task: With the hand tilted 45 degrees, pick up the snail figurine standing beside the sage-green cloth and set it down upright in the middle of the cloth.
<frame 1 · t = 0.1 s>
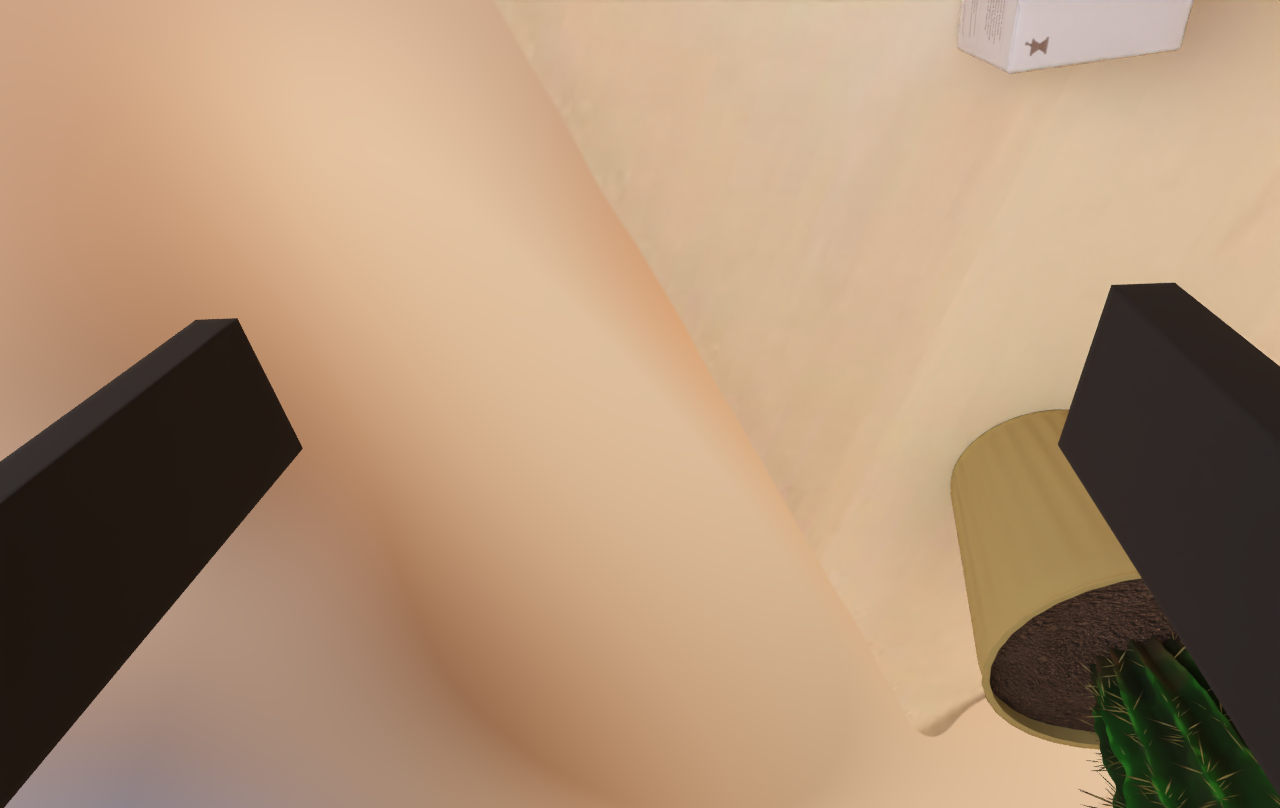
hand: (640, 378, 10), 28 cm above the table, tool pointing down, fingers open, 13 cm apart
potted cactus: (1037, 474, 45), on the table
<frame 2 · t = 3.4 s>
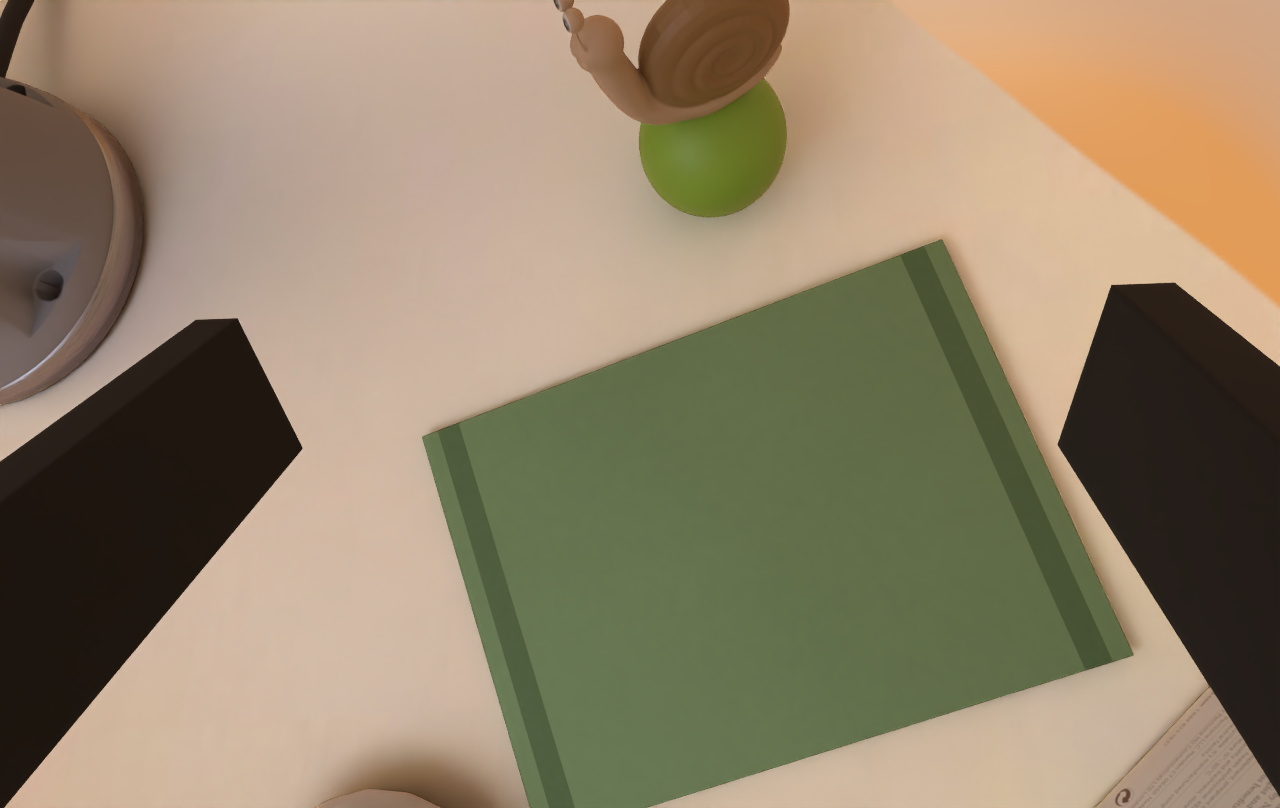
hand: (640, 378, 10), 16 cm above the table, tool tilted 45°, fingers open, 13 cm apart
snail figurine: (703, 183, 27), on the table
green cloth: (743, 534, 25), on the table
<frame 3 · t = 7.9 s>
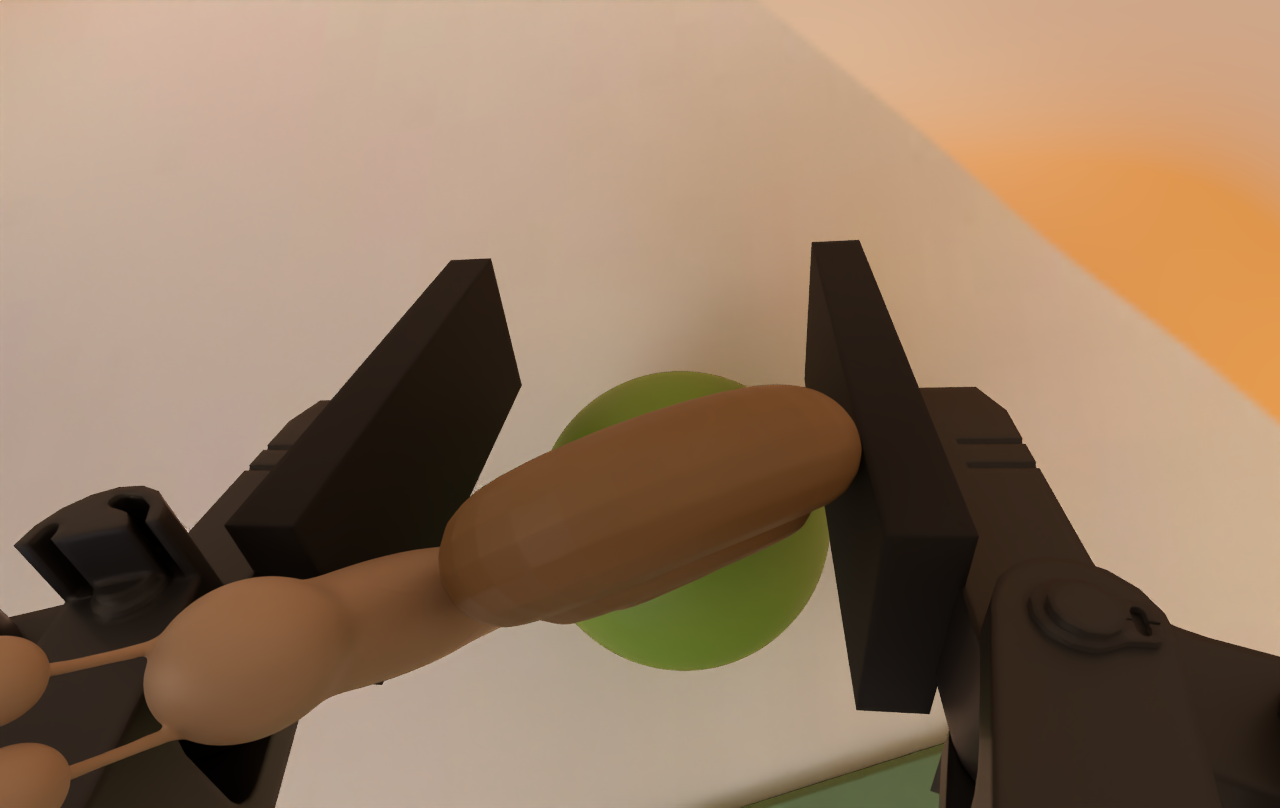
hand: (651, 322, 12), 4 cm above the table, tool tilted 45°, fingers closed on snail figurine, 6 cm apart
snail figurine: (673, 524, 15), on the table, touching gripper
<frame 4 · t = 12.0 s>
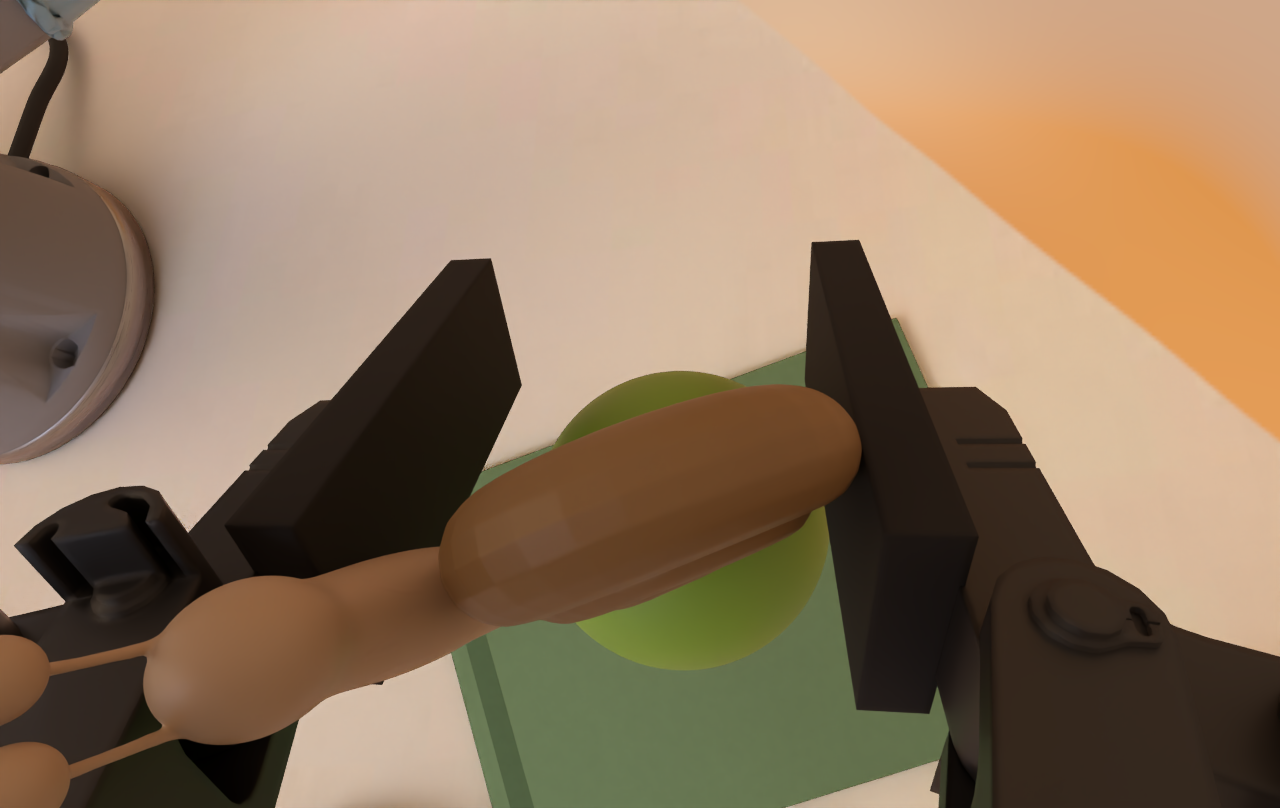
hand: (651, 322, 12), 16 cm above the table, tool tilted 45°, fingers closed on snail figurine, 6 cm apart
snail figurine: (673, 524, 15), point 12 cm above the table, touching gripper
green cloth: (711, 595, 27), on the table
when the fingers open (4 cm above the table, at t = 15.9 s): snail figurine stays where it is, resting on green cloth.
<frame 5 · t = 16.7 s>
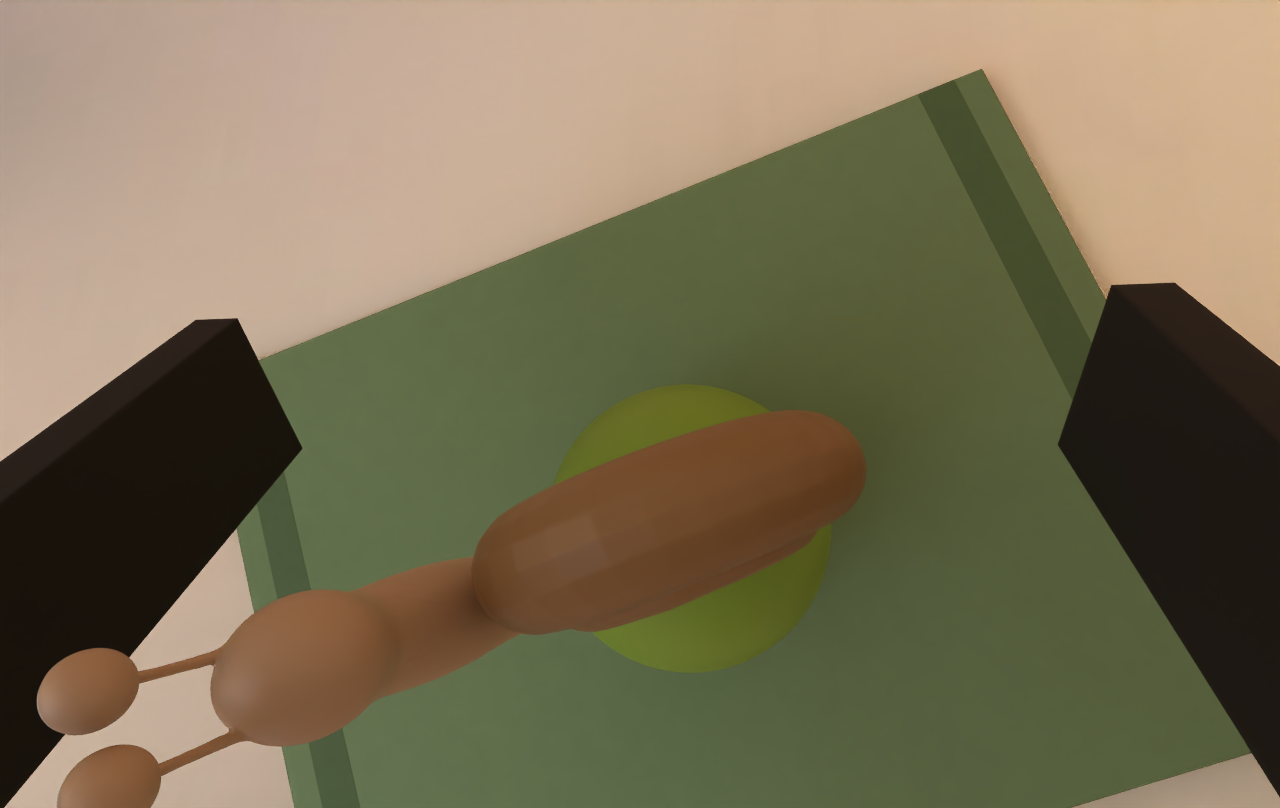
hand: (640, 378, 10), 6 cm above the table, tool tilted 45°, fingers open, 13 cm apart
snail figurine: (678, 530, 16), resting on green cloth
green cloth: (677, 525, 16), on the table
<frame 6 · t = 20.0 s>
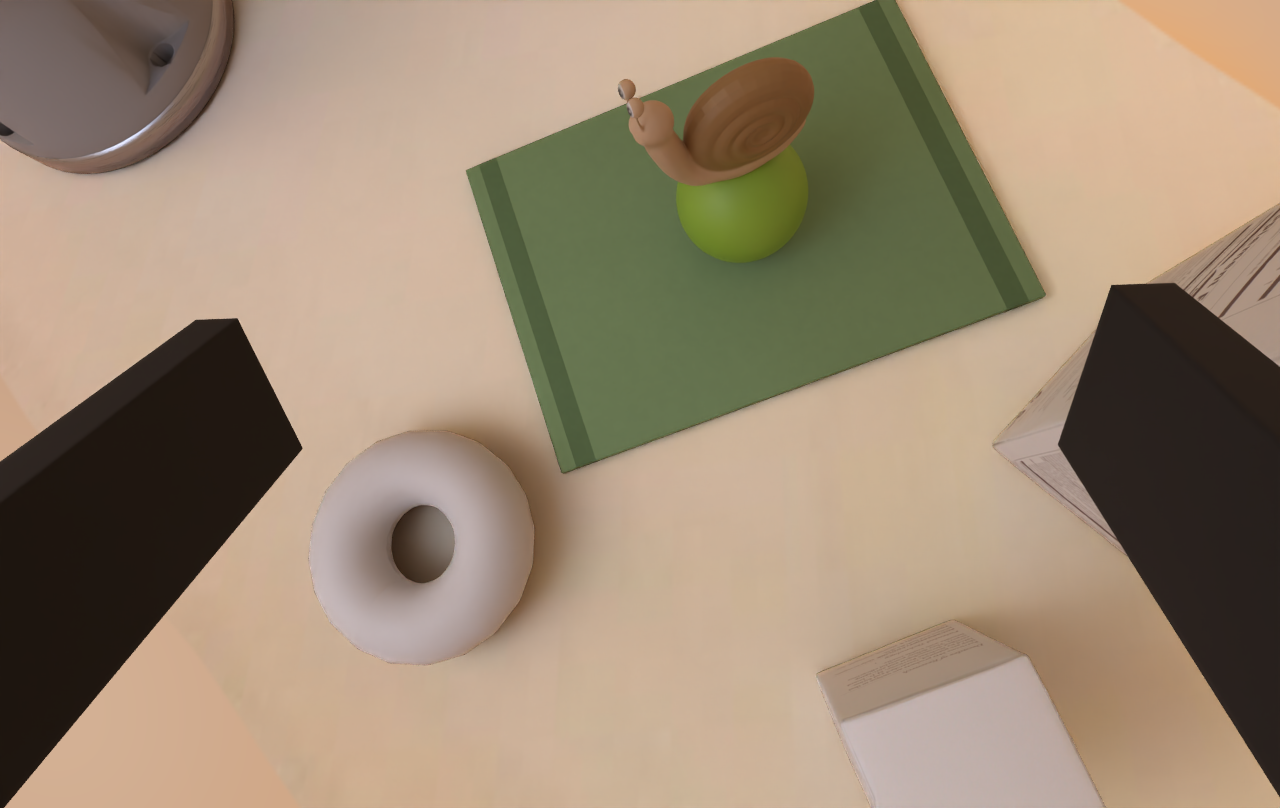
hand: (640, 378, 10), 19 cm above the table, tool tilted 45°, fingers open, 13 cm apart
snail figurine: (731, 231, 30), resting on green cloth
product box: (914, 717, 26), on the table
donut: (441, 542, 30), on the table
supplement box: (1155, 440, 27), on the table
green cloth: (731, 230, 31), on the table
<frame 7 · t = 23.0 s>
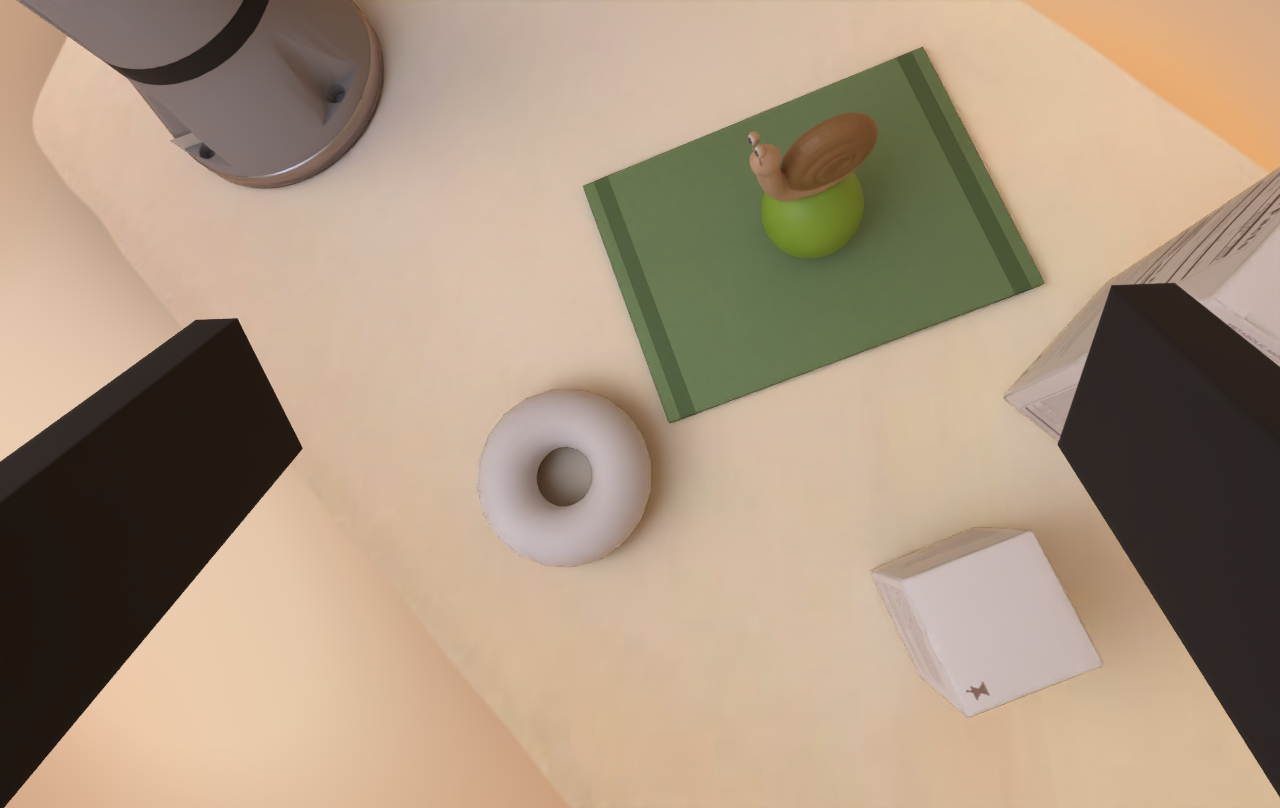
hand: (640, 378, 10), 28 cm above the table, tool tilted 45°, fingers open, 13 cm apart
snail figurine: (798, 234, 39), resting on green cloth
product box: (946, 601, 35), on the table
donut: (572, 478, 39), on the table
supplement box: (1127, 392, 35), on the table
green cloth: (797, 233, 39), on the table
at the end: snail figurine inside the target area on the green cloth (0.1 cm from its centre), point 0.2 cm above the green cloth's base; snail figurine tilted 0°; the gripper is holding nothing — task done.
